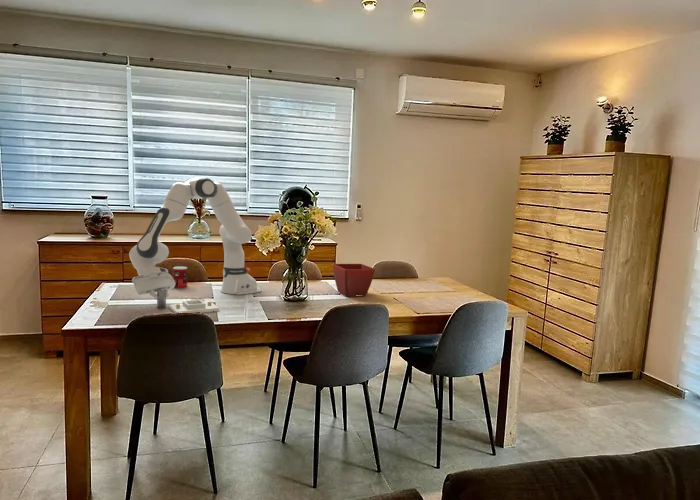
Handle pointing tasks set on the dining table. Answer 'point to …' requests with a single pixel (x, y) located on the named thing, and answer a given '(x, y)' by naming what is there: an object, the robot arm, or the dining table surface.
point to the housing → (194, 306)
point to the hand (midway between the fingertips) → (162, 297)
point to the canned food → (180, 276)
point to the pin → (161, 298)
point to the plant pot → (353, 278)
